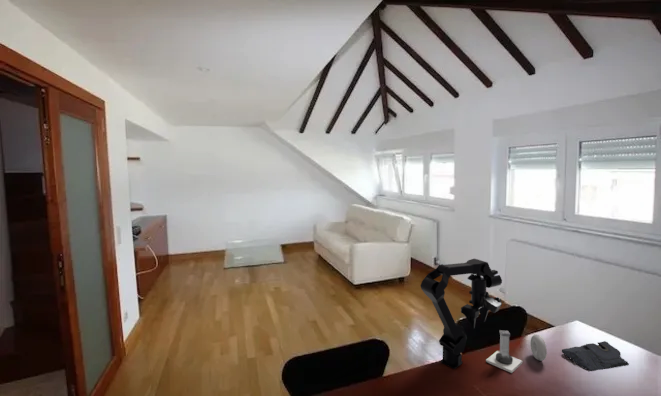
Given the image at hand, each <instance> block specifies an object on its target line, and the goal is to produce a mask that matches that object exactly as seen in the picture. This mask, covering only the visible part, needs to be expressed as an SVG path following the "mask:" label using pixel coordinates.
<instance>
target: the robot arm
mask: <svg viewBox="0 0 661 396" xmlns="http://www.w3.org/2000/svg"><path fill="white" fill-rule="evenodd" d="M468 274H470V275H469V276H468V277H467V280H470V281H471V284H470V285H471V286H470V287H471V290H470V291H469V292H468V293H469V295H471V296H470V297H471V299H470V300H469V301H468V303H469V304H468V303H466V304H464V305H463V306H461V307H460V313H461V314H463V315H464V317H465V318H466V320H467V322H468V324H469V327H470V328H471V329H472V330H474V329H476V328H475V327H476V320H477V318H478V317H479V316H480V319H481V322H483V323H485V322H486V321H487V316H488V314H489V311H490V313H493V314H495V313H496V312H499V310H500V308H501V307H502V298H501V297H499V296H496V297H491V296H490V293H489V291H487V288H488V289H489V288H494V287H499V286H501V285H502V283H503V279H502V277H501V275H500V274H499V271H498V270H496V269H491V267H490V265H489V262H487V261H484V260H481V259H478V258H471V259H468V260H467V261H466V262H460V263H459V262H458V263H448V264H443V263H442V264H439V265H437V266H436V267H435V269H433V270H432V271H430V272H429V273H427V275H426V276H424V278H423V279H422V281H421V282H420V289H421V290H422V292H423V293H424V295H425V296H426V297H427V298H429V299H430V300H431V303H432V305H433V307H434V308H435V311H436V313H437V314H438V317H439V319H440V321H441V323H442V324H443V329H442V333H443V334H442V335H441V337H440V339H439V340H438V342H439V345H440V346H442V359H441V360H440V363H441V364H443V365H446V366H448V367H450V368H452V369H455V370H456V369H457V368H458V367H459V366H461V365H462V364H463V361H462V357H463V356H462V353H464V351H465V349H466V345H467V339H468V337H467V335H468V333H467V332H466V331H465V328H464V326H462V325H460V324H459V323H457V322H456V321H455V319H454V317H453V315H452V312H451V310H450V308H449V306H448V303H447V302H446V300H445V295H446V294H445V293H446V292H445V290H446V288H447V287H448V284H449V281H450V280H449V279H450V277H452V276H460V275H468ZM440 276H441V280H440V281H438V280H436V279H437V278H439V277H440Z"/></svg>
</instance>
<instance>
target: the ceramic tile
mask: <svg viewBox="0 0 661 396" xmlns="http://www.w3.org/2000/svg"><path fill="white" fill-rule="evenodd" d="M497 353H500V350H496V351H495V352H494V353H493V354H491V355H490V356H489V357H488V358H486V359H485V362H486V363H488V364H489V365H492V366H495V367H496V368H499V369H501V370H504V371H506V372H508V373H510V374H513V372H515V371H516V370H517V369H518V368H519V367H520V366H521V365H522V364H523V360H521V359H518V358H517V357H515V356H511V355H510V356H511V357H512V358H513V362H512V364H510V365H506V364H502V363H500V362H498V361H497V360H496V354H497Z"/></svg>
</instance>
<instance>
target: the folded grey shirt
mask: <svg viewBox="0 0 661 396" xmlns="http://www.w3.org/2000/svg"><path fill="white" fill-rule="evenodd" d="M561 353H562V354H563V355H565V356H566V357H567V358H569V359H570V360H571V361H573V362H574V363H576V365H578V366H580V367H581V368H583V369H585V370H587V371H589V372H595V371H601V370H609V369H614V368H619V367H624V366H630V363H628V361H627V360H625V359H624V358H622V356H621V352H620V350H619V349H618V348H617V347H614V346H613V345H611V344H610V343H609V342H608V341H606V340H604V341H600V342H597V344H596V343H586V344H584V345H581V346H573V347H568V348H563V349H561Z"/></svg>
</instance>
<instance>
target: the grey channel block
mask: <svg viewBox="0 0 661 396" xmlns="http://www.w3.org/2000/svg"><path fill="white" fill-rule="evenodd" d="M499 335H500V336H499V337H500V339H499V352H500V353H497V354H496V360H497V361H498V362H500V363H502V364H506V365H510V364H512V362H513V358H512V357H513V356H512V357H511V355H510V337H511V333H510V332H509V330H501V329H499Z"/></svg>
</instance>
